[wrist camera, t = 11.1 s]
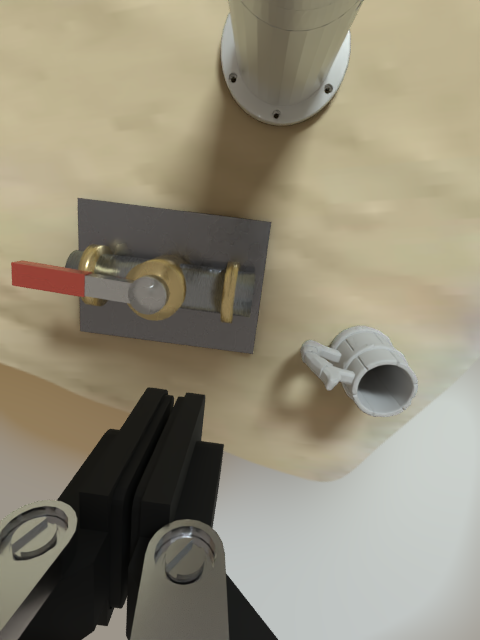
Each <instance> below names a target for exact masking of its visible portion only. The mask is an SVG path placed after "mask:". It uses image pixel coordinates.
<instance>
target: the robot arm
mask: <svg viewBox="0 0 480 640" xmlns="http://www.w3.org/2000/svg"><path fill="white" fill-rule="evenodd" d="M362 2H363V0H228V3H229V10H230V12H229V14H228V17H227V20H226V22H225V25H224V28H223V34H222V40H221V63H222V69H223V74H224V78H225V81H226V84H227V86H228V88H229V91H230V93H231V95H232V96H233V98H234V99H235V101H236V102H237V104H238V105H239V106H240V107H241V108H242V109H243V110H244V111H245V112H246V113H247V114H249V115H250V116H252V117H253V118H255V119H256V120H259V121H261V122H264V123H266V124H271V125H277V126H283V125H292V124H296V123H300V122H302V121H305V120H307V119H309V118H311V117H312V116H314V115H315V114H316V113H318V112H319V111H321V110H322V109H323V108H324V107H325V106H326V105H327V103H328V102H329V101H330V100H331V99H332V97H333V96H334V94H335V93H336V92H337V90H338V88H339V86H340V84H341V82H342V81H343V78H344V76H345V73H346V70H347V67H348V63H349V57H350V52H351V34H350V27H351V25H352V23H353V21H354V19H355V17H356V15H357V13H358V11H359V9H360V7H361V4H362ZM233 78H235V79H236V82H235V83H232V82H231V80H232V79H233ZM326 89H328V90H329V94H326V93H325V90H326ZM275 114H277V115H278V116H279V117H278V118H277V119H275V118H274V115H275ZM173 405H174V396H171V395H168V391H167V390H164V389H157V388H147V389H146V391H145V392H144V394H143V395H142V397H141V398H140V400H139V402H138V403H137V405H136V406H135V408H134V409H133V411H132V412H131V414H130V415H129V417H128V418H127V420H126V421H125V423H124V424H123V426H122V427H121V429H120V430H115V429H109V430H108V431H107V432H106V433H105V434H104V435H103V437H102V438H101V440H100V441H99V442H98V444H97V445H96V447H95V448H94V449H93V451H92V452H91V454H90V455H89V456H88V458H87V459H86V461H85V462H84V463H83V465H82V466H81V468H80V469H79V471H78V472H77V473H76V475H75V476H74V477H73V479H72V480H71V481H70V483H69V484H68V486H67V487H66V489H65V490H64V491H63V493H62V494H61V495H60V497H59V498H58V500H57V501H55V500H46V501H37V502H34V503H31V504H28V505H25V506H23V507H21V508H19V509H17V510H15V511H13V512H12V513H11V514H9V515H8V516H7V517H6V518H4V519H3V520H1V521H0V640H82V639H83V638H84V637H86V636H87V635H89V634H90V633H92V632H93V631H94V630H95V627H96V625H103V626H108V623H109V621H110V618H111V615H112V612H113V610H114V608H122V607H123V605H124V603H125V600H126V598H127V623H126V624H127V625H126V636H127V638H128V640H278V639H277V638H276V636H275V635H274V634H273V632H272V631H271V630H270V629H269V627H268V626H267V625H266V624H265V622H264V621H263V620H262V618H261V617H260V616H259V615H258V614H257V612H256V611H255V610H254V608H253V607H252V606H251V605H250V603H249V602H248V601H247V599H246V598H245V597H244V596H243V594H242V593H241V592H240V591H239V589H238V588H237V587H236V585H235V584H234V583H233V582H232V580H231V579H230V578H229V576H228V575H227V574H226V569H225V552H224V548H223V543H222V541H221V539H220V537H219V536H218V534H217V532H216V531H214V530H213V529H212V527H213V521H214V514H215V507H216V501H217V494H218V487H219V479H220V472H221V464H222V456H223V448H224V444H218V443H210V442H203V441H201V437H202V427H203V417H204V407H205V395H201V394H194V393H186V395H185V397H178V399H177V401H176V403H175V405H174V407H173Z"/></svg>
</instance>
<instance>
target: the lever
mask: <svg viewBox="0 0 480 640" xmlns="http://www.w3.org/2000/svg"><path fill="white" fill-rule="evenodd" d="M11 266H12V285H14V286H20V287H26V288H32V289H38V290H44V291H50V292H56V293H62V294H68V295H74V296H80V297H86V296H87V297H93V298H99V299H105V300H111V301H117V302H123V303H129V304H131V305H132V307H133V308H134V309H135V310H136V311H138V312H140V313H142V314H147V315H150V314H154V313H157V312H158V311H160V310H161V309H162V308H163V307H164V306H165V305H166V304H167V302H168V300H169V296H170V292H169V288H168V285H167V284H166V282H165V281H164V280H163V279H162V278H160V277H158V276H156V275H145V276H142V277H140V278H138V279H136V280H130V279H124V278H118V277H112V276H106V275H100V274H94V273H92V272H88V271H82V270H76V269H70V268H64V267H58V266H52V265H46V264H40V263H34V262H28V261H17V262H11Z"/></svg>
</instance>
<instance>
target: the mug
mask: <svg viewBox="0 0 480 640" xmlns="http://www.w3.org/2000/svg"><path fill="white" fill-rule="evenodd" d="M301 356H302V360H303V362H304V363H306V364H307V366H308V367H309V368H310V369H311V371H313V372H314V373H315V374H316V375H317V376H318V378H320V379H321V380H322V382H323V383H324V385H325V388H326V389H327V390H329V391H330V390H332V389H333V387H334V386H336V385H337V384H338V382H341V383H342V386H343V388H344V390H345V393H346V394H347V396H348V397H350V398H351V399H353V401H354V402H355V404H356V405H357V406H358V408H359V409H360V410H362V411H363V412H364V413H366V414H368V415H371V416H374V417H376V416H380V417H389V416H393V415H397V414H399V413H401V412H403V410H405V409H406V408H407V407H408V406H410V405H411V400H412V398H414V397H415V395H416V393H417V390H418V384H417V383H418V381H417V378H416V375H415V373H414V372H413V370H412V369H411V368H410V367H409V365H408V363H407V360H406V358H405V356H404V355H403V354H402V353H401V352H400V351H398V350H396V349H395V348H394V347H393V345H392V343H391V341H390V339H389V337H387V336H386V335H385V334H384V333H382V332H381V331H379V330H376V329H374V328H371V327H367V326H354V327H351V328H348V329H345V330H343V331H342V332H341V333H339V334H338V335H337V336H336V337H335V338H334V340H333V342H332V344H331V347H327V346H324V345H322V344H320V343H318V342H316V341H313V340H307V341H305V342H304V343H303V345H302V347H301ZM326 359H327V360H329V362H328V361H327V360H326ZM372 368H373V369H372Z"/></svg>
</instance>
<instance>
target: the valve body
mask: <svg viewBox="0 0 480 640" xmlns="http://www.w3.org/2000/svg"><path fill="white" fill-rule="evenodd" d="M270 227H271V222H266V221H258V220H250V219H242V218H234V217H226V216H218V215H210V214H202V213H194V212H186V211H178V210H170V209H162V208H154V207H146V206H138V205H130V204H122V203H114V202H106V201H98V200H90V199H82V198H78V235H79V250H75V251H73V252H72V253H71V254H70V256H69V257H68V259H67V262H66V266H65V268H70V269H76V270H82V271H88V272H92V273H94V274H100V275H106V276H112V277H118V278H124V279H130V280H136V279H138V278H140V277H142V276H145V275H156V276H158V277H160V278H162V279H163V280H164V281H165V282H166V284H167V285H168V288H169V292H170V296H169V300H168V302H167V304H166V305H165V306H164V307H163V308H162V309H161V310H160V311H158V312H157V313H154V314H150V315H147V314H142V313H140V312H138V311H136V310H135V309H134V308H133V307H132V305H131V304H129V303H123V302H117V301H111V300H105V299H99V298H93V297H87V296H86V297H80V331H84V332H91V333H99V334H106V335H114V336H121V337H129V338H137V339H144V340H152V341H159V342H167V343H174V344H182V345H190V346H197V347H205V348H212V349H220V350H228V351H235V352H243V353H250V354H253V348H254V341H255V334H256V327H257V320H258V313H259V306H260V298H261V291H262V284H263V277H264V270H265V263H266V256H267V249H268V241H269V234H270Z"/></svg>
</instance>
